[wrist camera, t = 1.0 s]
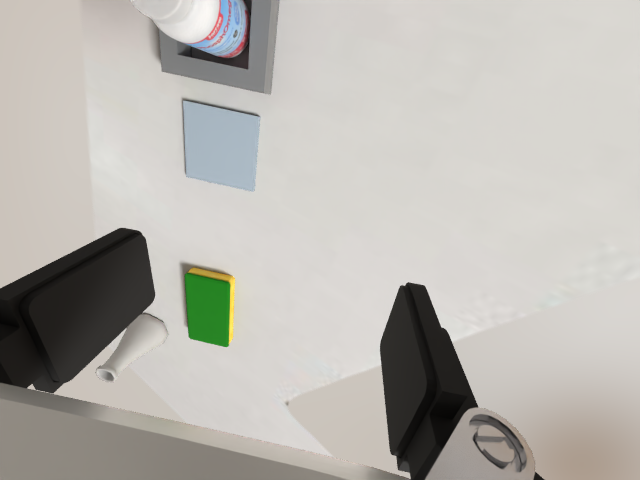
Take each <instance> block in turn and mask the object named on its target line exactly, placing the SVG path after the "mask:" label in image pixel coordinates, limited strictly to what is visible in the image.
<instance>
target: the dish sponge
mask: <svg viewBox="0 0 640 480" xmlns="http://www.w3.org/2000/svg"><path fill="white" fill-rule="evenodd" d="M234 288H235V278H234V277H233V276H230V275H226V274H221V273H216V272H212V271H207V270H203V269H198V268H194V267H193V268H192V269H190V270H189V271H188V272H187V273H186V274H185V290H186V304H187V319H188V333H189V338H190V339H194V340H198V341H202V342H206V343H211V344H215V345H219V346H223V347H228V346H229V344H230V342H231V340H232V338H233V317H234Z"/></svg>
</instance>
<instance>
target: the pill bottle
mask: <svg viewBox="0 0 640 480" xmlns="http://www.w3.org/2000/svg"><path fill="white" fill-rule="evenodd" d="M130 2H131V3H132V4H133V6H134V7H135V8H136V9H137V10H138V11H140V12H141V13H142V14H144V15H145V16H147V17H149V18H151V19H152V21H153V22H154V23H155V24H156V25H157V27H158V28H159V29H160V30H161V31H163V32H164V33H165V34H166V35H168V36H169V37H171V38H173V39H175V40H177V41H180V42H182V43H185V44H187V45H190V46H192V47H195V48H197V49H200V50H203V51H205V52H207V53H210V54H213V55H215V56H218V57H221V58H232V57H235V56H237V55H239V54H240V53H241V52H242V51H243V50H244V49H245V47H246V46H247V44H248V42H249V39H250V27H251V18H250V14H249V11H248V8H247V6H246V4H245V2H244V0H130Z"/></svg>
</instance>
